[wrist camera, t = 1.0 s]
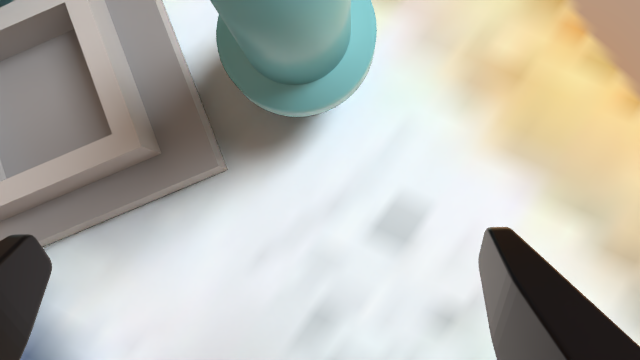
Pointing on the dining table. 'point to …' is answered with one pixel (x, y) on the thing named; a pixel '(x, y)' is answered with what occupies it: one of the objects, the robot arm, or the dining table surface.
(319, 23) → the teal plastic cylinder
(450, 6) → the dining table surface
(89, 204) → the grey stepped base
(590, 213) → the dining table surface
